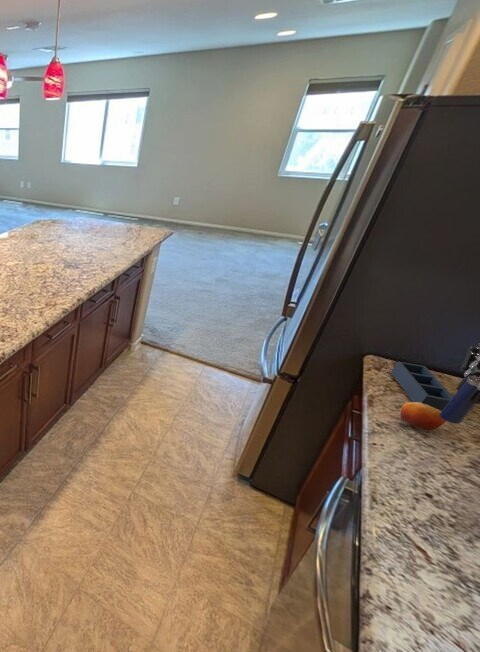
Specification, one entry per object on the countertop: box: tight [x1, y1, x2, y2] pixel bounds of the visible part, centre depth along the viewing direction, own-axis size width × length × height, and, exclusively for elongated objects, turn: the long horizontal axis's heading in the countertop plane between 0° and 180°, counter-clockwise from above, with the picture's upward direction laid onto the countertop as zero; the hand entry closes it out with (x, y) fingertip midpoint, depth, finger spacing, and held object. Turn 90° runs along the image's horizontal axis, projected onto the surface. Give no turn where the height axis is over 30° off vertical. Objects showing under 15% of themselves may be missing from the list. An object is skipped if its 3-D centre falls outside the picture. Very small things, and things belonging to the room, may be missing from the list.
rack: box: [390, 361, 454, 411], centre depth 117 cm, size 7×18×4 cm, turn 155°
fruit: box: [399, 401, 447, 434], centre depth 105 cm, size 8×8×8 cm
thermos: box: [439, 375, 480, 425], centre depth 91 cm, size 4×4×12 cm
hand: (468, 396), depth 90 cm, fingers closed on thermos, 3 cm apart
